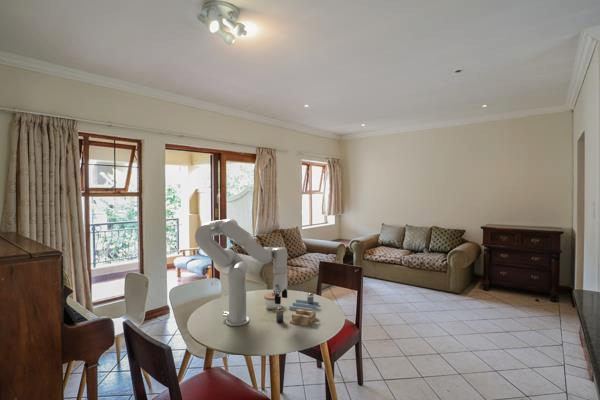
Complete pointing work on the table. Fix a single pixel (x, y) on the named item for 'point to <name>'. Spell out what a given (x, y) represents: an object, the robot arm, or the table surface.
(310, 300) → the cell
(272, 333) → the table surface
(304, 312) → the cradle
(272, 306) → the lidded jar
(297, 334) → the table surface
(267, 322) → the table surface
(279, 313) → the cell
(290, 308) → the trough board
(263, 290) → the table surface
